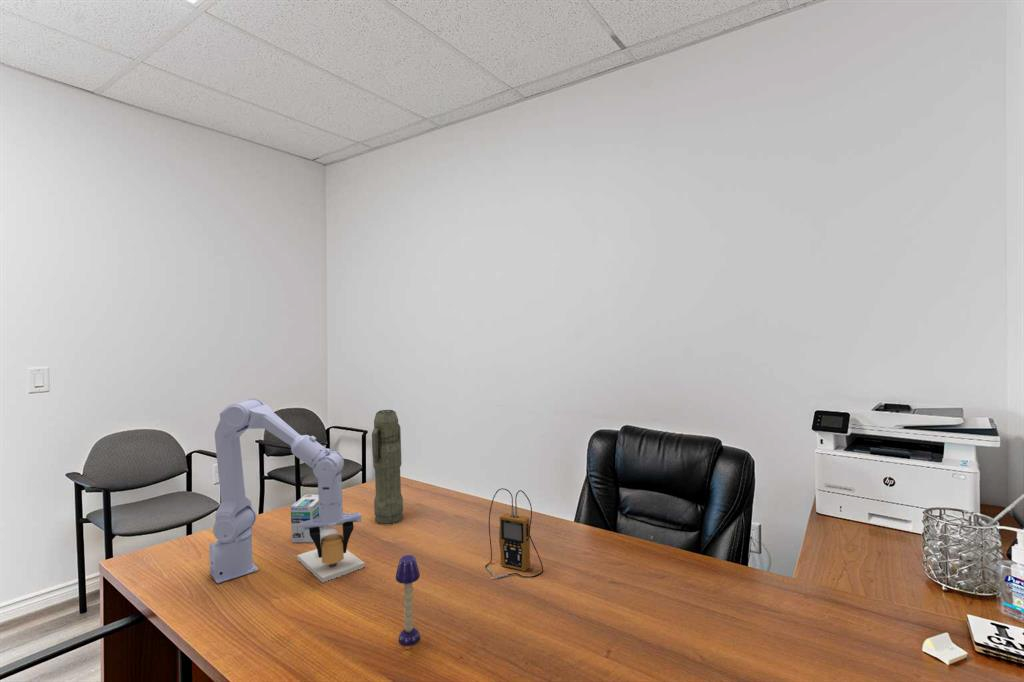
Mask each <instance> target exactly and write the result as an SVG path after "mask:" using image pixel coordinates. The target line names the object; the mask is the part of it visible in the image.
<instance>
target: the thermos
mask: <svg viewBox="0 0 1024 682" xmlns="http://www.w3.org/2000/svg"><path fill="white" fill-rule="evenodd" d="M401 435H402V434H401V425H400V424H399V418H398V415H397V412H396V411H395V410H393V409H383V410H381V409H380V410H378V411H377V412H376V413H375V415H374V419H373V429H372V432H371V445H372V452H371V453H372V461H373V462H372V466H373V469H374V477H375V478H374V480H375V481H374V482H375V483H374V485H375V487H374V488H375V496H374V499H373V500H374V501H373V503H374V505H373V506H374V507H373V508H374V515H375V519H374V522H375V523H376V522H377V523H379V524H378V525H380V524H391V525H394V524H393V523H395V524H397V522H398V523H400V522H401V520H402V521H403V519H404V515H403V511H404V498H403V495H402V485H401V481H402V480H401V466H402V438H401V437H402V436H401ZM399 521H400V522H399ZM377 523H376V524H377Z"/></svg>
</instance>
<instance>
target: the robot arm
mask: <svg viewBox="0 0 1024 682" xmlns="http://www.w3.org/2000/svg"><path fill="white" fill-rule="evenodd" d="M248 429H250V430H252V429H253V430H254V429H256V430H257V429H264V430H266V431H267V432H269V433H270V434H272V435H274V436H275V437H277V438H278V439H280V440H281V441H282V442H284V443H286V444H287V445H288V446H290V448H291V449H290V452H291V453H292V455H294V456H295V457H296V458H297V459H299V460H301V462H303V463H305V464H306V466H308V467H310V468H311V469H312V471H313V475H314V477H315V478H316V479H317V493H318V494H317V495H318V499H319V517H318V518H314V519H311V520H307V521H302V522H300V527H301V532H304V531H305V530H309V533H310V536H311V538H312V540H313V541H314V542H313V544H314V545H315V547H316V548H315V549H317V551H318V555H319V558H321V557H322V552H321V543H320V528H322V527H327V528H331V527H336V526H339V525H342V536H343V552H344V553H346V550H348V549H347V548H348V544H349V541H350V538H351V535H352V533H353V531H354V523H358V524H359V523H362V515H361V512H353V513H352V512H351V513H343V512H344V511H343V510H344V509H343V508H344V507H343V482H342V472H341V471H342V470H343V469H344V466H345V459H344V457H343V455H342V454H341V453H340V452H339V451H337V450H336V451H335V450H333V451H332V450H331V449H330V448H329V447H328V448H326V447H325V446H323V445H322V444H321V443H319V442H318V441H317V437H316V436H314V435H308V434H302V435H301V434H300V433H298V432H297V431H296V430H295V429H294V428H293V427H291V426H290V425H289V424H288V423H287V422H285V421H284V420H283V419H282V418H281V417H280V416H278V414H276V413H275V412H274V411H273V409H272V408H271V406H269V405H267V404H266V403H264V402H263V401H262V400H260V399H258V398H256V397H255V398H248V399H247V400H244V401H239V402H237V403H232V404H229V405H228V406H227V407H225V408H224V409H223V410H222V411H220V413H219V420H218V423H217V425H216V428H215V431H214V443H215V452H216V453H215V454H216V462H217V463H216V464H217V472H218V481H219V482H218V483H219V493H220V502H221V503H220V504H219V507H218V508H217V510H216V512H215V514H214V516H215V520H214V521H215V522H214V523H213V528H212V533H213V536H214V537H215V539H217V541H214V542H212V543H210V544H209V546H208V547H209V548H208V549H209V550H208V551H209V553H208V554H209V574H210V576H211V577H212V579H213V580H214V581H215V583H216V584H221V583H223V582H227V581H230V580H233V579H236V578H239V577H242V576H246V575H249V574H251V573H255V572H257V571H259V568H258V567H257V565H256V564H255V563H254V562H253V537H252V535H253V534H252V531H253V530H252V527H253V526H254V525H255V523H256V521H257V513H256V511H255V509H254V508H253V505H252V500H251V499H249V498H248V497H247V496H246V488H245V479H244V469H243V467H244V466H243V459H242V448H241V440H240V439H241V438H240V437H241V436H242V435H243V434H244V433H245V432H246V431H247V430H248Z"/></svg>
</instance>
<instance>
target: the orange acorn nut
mask: <svg viewBox="0 0 1024 682" xmlns="http://www.w3.org/2000/svg"><path fill="white" fill-rule="evenodd" d="M321 552H322V563H324V564H334V563H338V562H340V561H341V560H343V559H344V552H343V534H341V533H337V534H330V535H326V536H324V537H323V538H322V539H321Z"/></svg>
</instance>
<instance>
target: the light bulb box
mask: <svg viewBox="0 0 1024 682" xmlns="http://www.w3.org/2000/svg"><path fill="white" fill-rule="evenodd" d="M289 508H290V525H291V526H290V527H291V543H314V541H313V540H312V538H311V536H310V533H309V530H305V531H304V532H301V527H300V522H302V521H307V520H311V519H314V518H318V517H319V499H318V494H304V495H303V496H302V497H301V498H299V499H298V500H297V501H296V502H294V503H293V504H292V505H291V506H290V507H289ZM325 529H328V527H322V528H320V531H322V530H325Z"/></svg>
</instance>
